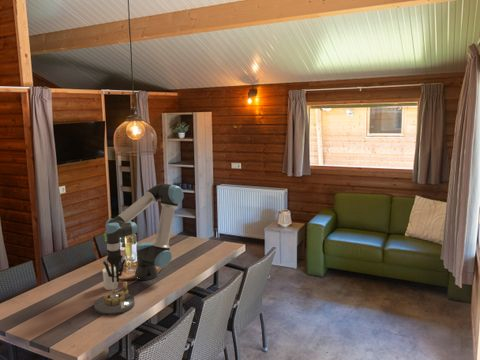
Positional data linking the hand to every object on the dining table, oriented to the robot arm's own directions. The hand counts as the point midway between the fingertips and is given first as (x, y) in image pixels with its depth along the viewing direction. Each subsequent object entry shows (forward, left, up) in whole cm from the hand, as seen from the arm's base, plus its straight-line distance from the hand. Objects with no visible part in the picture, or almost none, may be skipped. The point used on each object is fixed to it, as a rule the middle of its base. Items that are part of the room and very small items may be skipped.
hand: (115, 286), depth 244 cm
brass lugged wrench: (+5, +6, -4) cm, 9 cm away
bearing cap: (+8, +5, -7) cm, 12 cm away
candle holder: (-12, -14, -8) cm, 19 cm away
